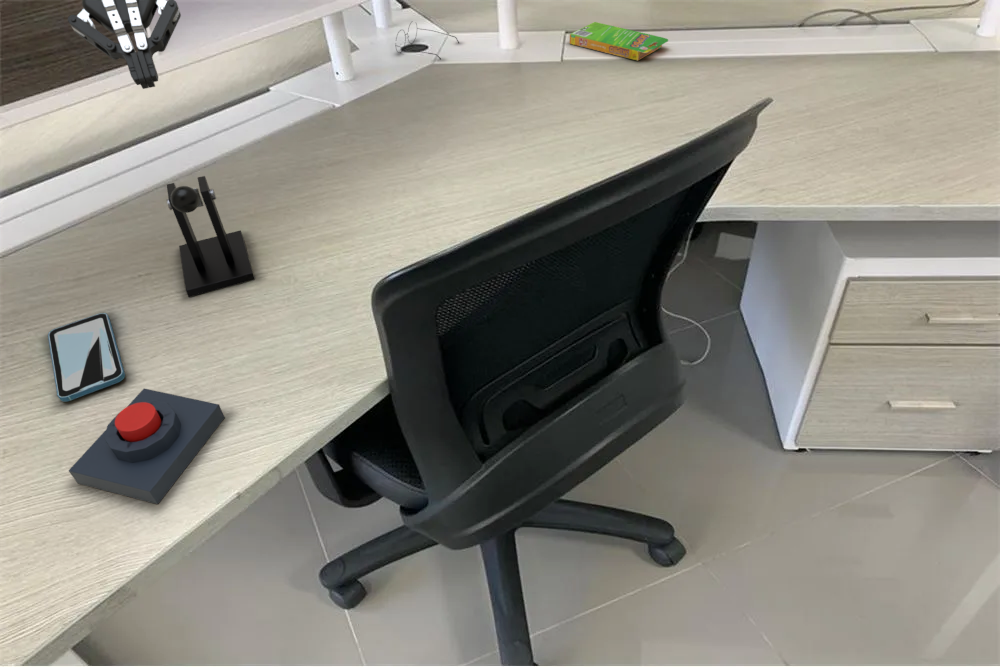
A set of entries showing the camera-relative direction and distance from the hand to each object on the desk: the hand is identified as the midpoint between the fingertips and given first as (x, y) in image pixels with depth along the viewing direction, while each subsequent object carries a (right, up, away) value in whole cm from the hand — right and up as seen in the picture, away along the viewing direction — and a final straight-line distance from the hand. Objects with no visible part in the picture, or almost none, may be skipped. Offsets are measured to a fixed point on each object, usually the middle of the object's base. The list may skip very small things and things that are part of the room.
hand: (147, 84), depth 85 cm
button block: (+5, -43, -9) cm, 44 cm away
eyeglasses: (+26, +36, +78) cm, 89 cm away
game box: (+69, +34, +73) cm, 107 cm away
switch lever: (+3, -15, +5) cm, 16 cm away
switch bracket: (+2, -20, +16) cm, 26 cm away
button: (+5, -40, -11) cm, 42 cm away
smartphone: (-9, -33, +3) cm, 35 cm away
